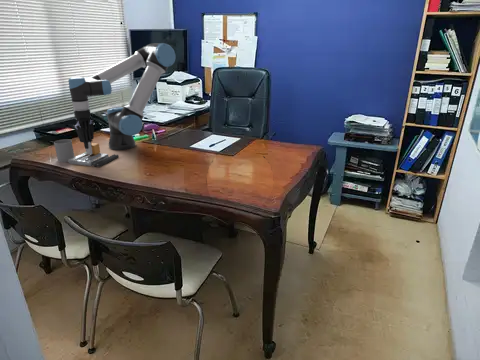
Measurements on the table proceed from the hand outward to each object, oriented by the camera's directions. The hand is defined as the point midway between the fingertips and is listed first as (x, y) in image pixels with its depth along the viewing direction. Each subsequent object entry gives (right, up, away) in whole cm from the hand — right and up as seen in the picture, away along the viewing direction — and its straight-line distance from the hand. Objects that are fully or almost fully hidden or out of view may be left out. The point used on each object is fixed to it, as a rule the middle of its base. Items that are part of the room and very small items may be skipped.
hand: (89, 153), depth 181 cm
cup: (-13, -3, +2) cm, 14 cm away
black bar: (+9, -4, -1) cm, 10 cm away
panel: (0, -4, 0) cm, 4 cm away
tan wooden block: (+1, 0, +4) cm, 4 cm away
